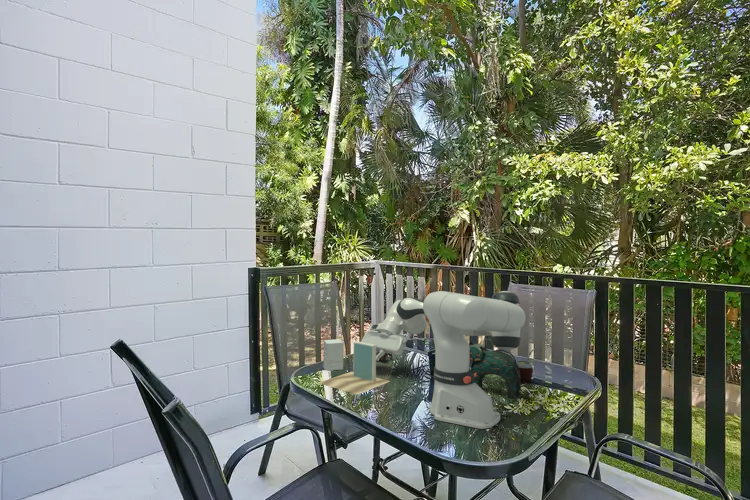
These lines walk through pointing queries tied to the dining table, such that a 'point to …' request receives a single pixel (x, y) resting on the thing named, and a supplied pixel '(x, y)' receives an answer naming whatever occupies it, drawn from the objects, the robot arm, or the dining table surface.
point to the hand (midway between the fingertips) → (374, 359)
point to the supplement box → (333, 354)
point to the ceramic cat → (495, 367)
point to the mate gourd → (525, 370)
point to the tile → (364, 361)
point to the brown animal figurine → (384, 356)
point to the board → (353, 383)
